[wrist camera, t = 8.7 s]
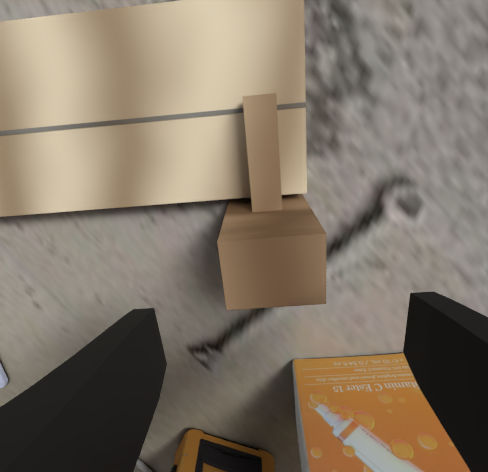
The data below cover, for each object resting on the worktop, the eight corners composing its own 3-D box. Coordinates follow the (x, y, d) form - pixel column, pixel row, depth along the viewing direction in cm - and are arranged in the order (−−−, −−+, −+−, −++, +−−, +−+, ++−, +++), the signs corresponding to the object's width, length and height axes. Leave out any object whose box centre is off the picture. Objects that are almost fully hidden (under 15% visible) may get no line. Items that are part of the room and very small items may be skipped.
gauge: (234, 250, 18) (226, 310, 13) (217, 101, 15) (197, 94, 10) (303, 244, 18) (326, 303, 12) (299, 93, 15) (326, 81, 10)
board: (-15, 212, 18) (-34, 219, 17) (-84, 40, 15) (-113, 34, 14) (303, 187, 17) (307, 193, 16) (299, -4, 14) (304, -15, 13)
